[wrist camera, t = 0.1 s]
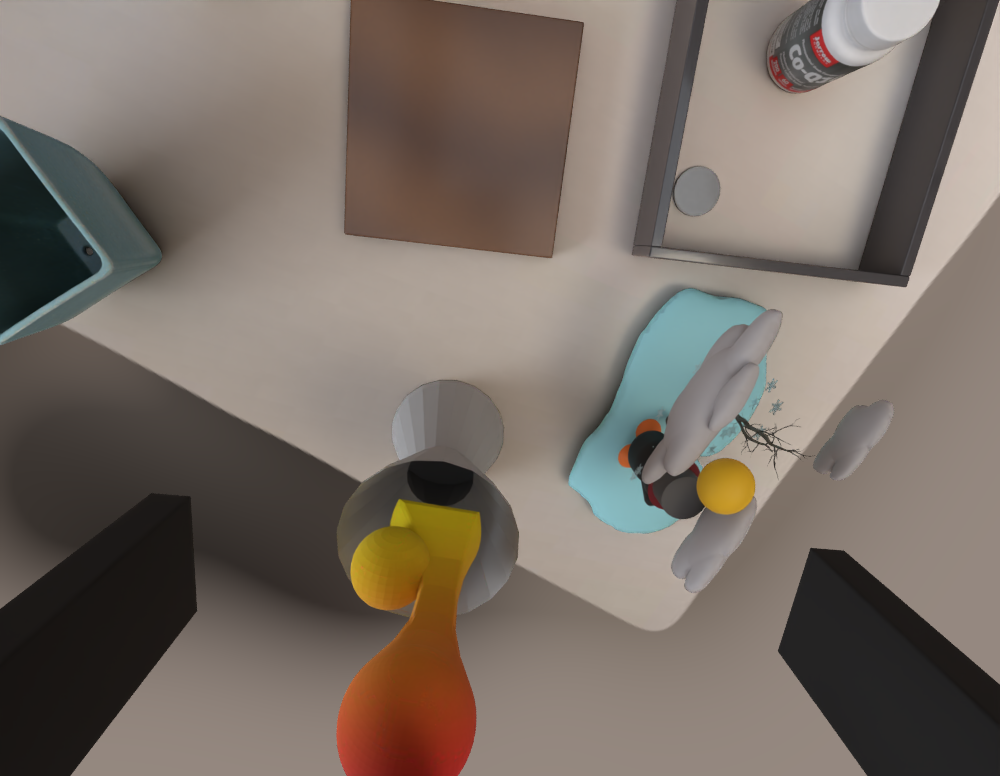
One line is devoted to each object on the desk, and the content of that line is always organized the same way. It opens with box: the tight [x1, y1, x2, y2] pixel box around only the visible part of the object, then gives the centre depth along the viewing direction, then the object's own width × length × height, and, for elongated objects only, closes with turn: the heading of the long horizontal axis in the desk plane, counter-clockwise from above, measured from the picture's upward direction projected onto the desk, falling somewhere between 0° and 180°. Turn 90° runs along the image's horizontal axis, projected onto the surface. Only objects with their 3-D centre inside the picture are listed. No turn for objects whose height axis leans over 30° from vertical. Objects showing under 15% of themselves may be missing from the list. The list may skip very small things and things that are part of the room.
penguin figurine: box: [569, 288, 894, 593], centre depth 33 cm, size 20×11×15 cm, turn 152°
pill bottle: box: [767, 0, 940, 93], centre depth 29 cm, size 5×5×8 cm
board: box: [344, 0, 584, 258], centre depth 33 cm, size 14×14×2 cm
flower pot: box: [0, 116, 162, 345], centre depth 31 cm, size 9×9×9 cm
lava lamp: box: [337, 380, 519, 776], centre depth 23 cm, size 9×9×35 cm
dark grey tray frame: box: [632, 0, 999, 287], centre depth 31 cm, size 27×17×4 cm, turn 174°
